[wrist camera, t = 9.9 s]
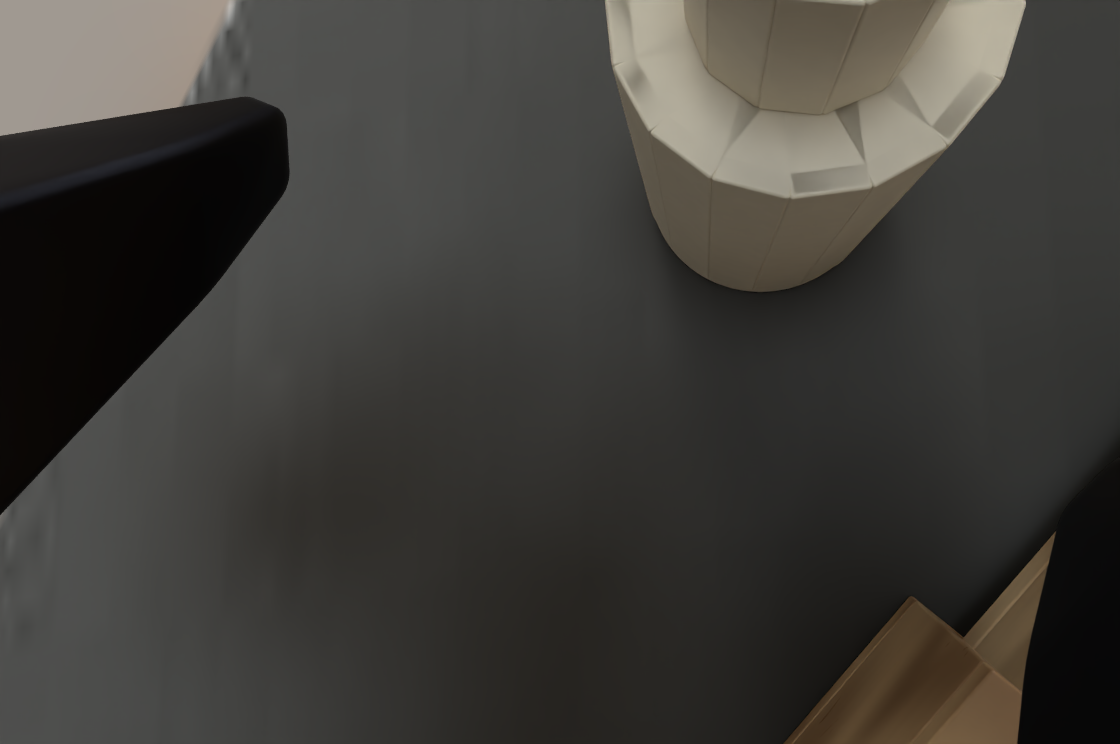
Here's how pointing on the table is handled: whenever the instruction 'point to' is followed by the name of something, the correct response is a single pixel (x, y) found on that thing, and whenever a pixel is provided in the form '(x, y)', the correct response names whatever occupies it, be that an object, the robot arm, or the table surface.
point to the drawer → (1012, 620)
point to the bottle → (795, 118)
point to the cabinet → (915, 691)
